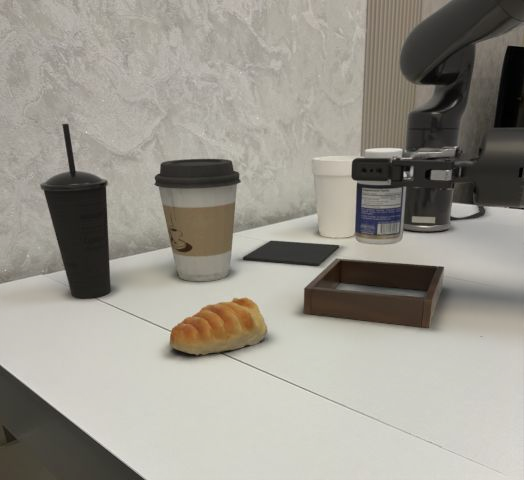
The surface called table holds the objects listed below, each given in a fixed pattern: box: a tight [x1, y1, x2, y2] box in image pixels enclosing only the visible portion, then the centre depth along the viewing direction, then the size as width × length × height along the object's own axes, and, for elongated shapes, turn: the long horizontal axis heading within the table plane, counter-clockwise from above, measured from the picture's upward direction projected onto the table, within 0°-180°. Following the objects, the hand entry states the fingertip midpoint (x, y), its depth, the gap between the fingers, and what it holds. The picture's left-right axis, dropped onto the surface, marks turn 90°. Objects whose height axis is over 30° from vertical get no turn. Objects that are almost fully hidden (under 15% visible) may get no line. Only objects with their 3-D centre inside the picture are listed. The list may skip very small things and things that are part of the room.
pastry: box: [169, 297, 268, 357], centre depth 54 cm, size 9×7×4 cm
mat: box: [242, 240, 340, 267], centre depth 87 cm, size 12×12×1 cm
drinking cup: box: [39, 123, 112, 299], centre depth 66 cm, size 8×8×20 cm
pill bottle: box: [354, 147, 407, 246], centre depth 60 cm, size 5×5×10 cm
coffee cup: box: [153, 158, 242, 282], centre depth 74 cm, size 11×11×15 cm
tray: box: [303, 257, 445, 329], centre depth 64 cm, size 14×14×3 cm
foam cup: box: [311, 155, 364, 239], centre depth 97 cm, size 10×9×13 cm
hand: (359, 166), depth 60 cm, fingers closed on pill bottle, 5 cm apart
